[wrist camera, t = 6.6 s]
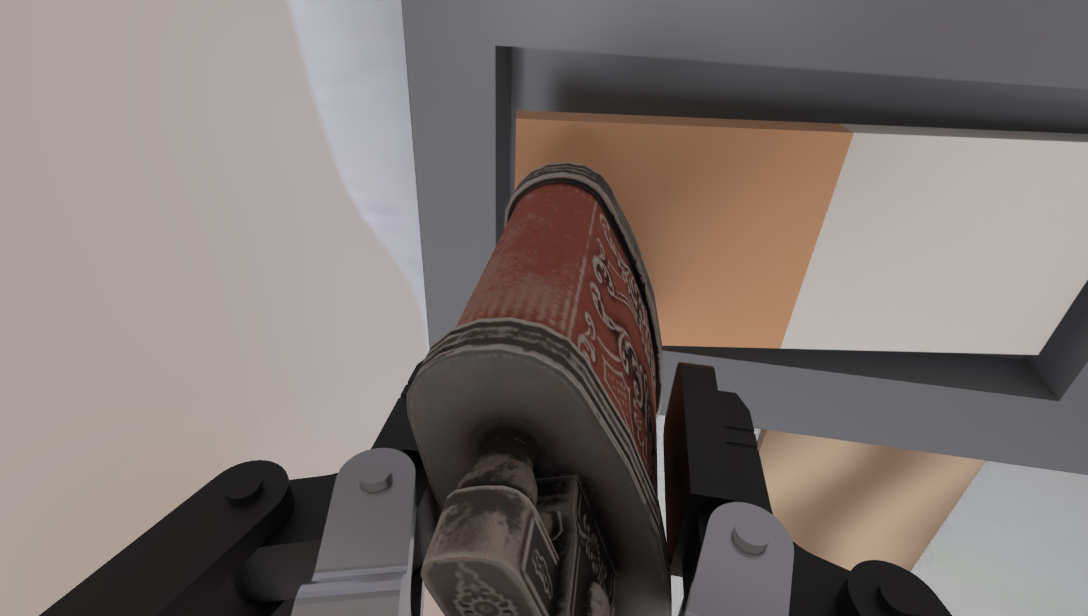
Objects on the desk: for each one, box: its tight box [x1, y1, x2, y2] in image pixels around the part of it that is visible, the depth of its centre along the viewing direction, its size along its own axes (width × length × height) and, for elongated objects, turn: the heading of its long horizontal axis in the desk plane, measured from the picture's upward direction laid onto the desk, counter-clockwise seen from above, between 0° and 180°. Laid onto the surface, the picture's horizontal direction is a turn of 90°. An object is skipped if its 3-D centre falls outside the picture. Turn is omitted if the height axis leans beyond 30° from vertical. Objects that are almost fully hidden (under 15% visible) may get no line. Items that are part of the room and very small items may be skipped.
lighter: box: [406, 162, 672, 616], centre depth 11 cm, size 8×3×10 cm, turn 18°
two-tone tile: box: [515, 110, 1088, 355], centre depth 19 cm, size 20×8×1 cm, turn 87°
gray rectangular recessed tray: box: [401, 0, 1088, 475], centre depth 21 cm, size 28×18×3 cm, turn 88°
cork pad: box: [757, 429, 986, 572], centre depth 30 cm, size 10×10×1 cm
